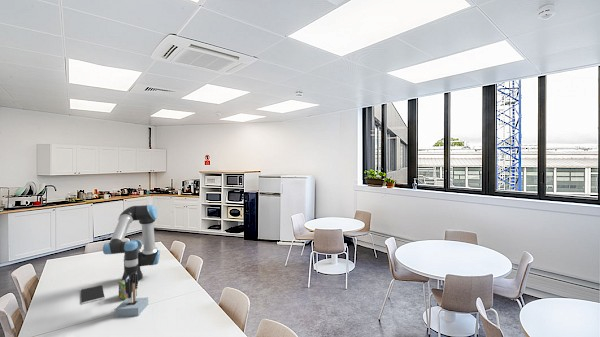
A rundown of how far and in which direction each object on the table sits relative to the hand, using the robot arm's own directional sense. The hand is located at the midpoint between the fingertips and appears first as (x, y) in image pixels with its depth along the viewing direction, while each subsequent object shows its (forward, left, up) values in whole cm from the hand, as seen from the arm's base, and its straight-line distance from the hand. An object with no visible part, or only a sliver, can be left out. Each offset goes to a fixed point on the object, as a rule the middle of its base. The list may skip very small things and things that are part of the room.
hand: (132, 300), depth 184 cm
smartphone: (-27, -41, -7) cm, 50 cm away
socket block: (0, 0, -7) cm, 7 cm away
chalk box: (-21, -13, -7) cm, 26 cm away
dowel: (0, 0, -5) cm, 5 cm away
